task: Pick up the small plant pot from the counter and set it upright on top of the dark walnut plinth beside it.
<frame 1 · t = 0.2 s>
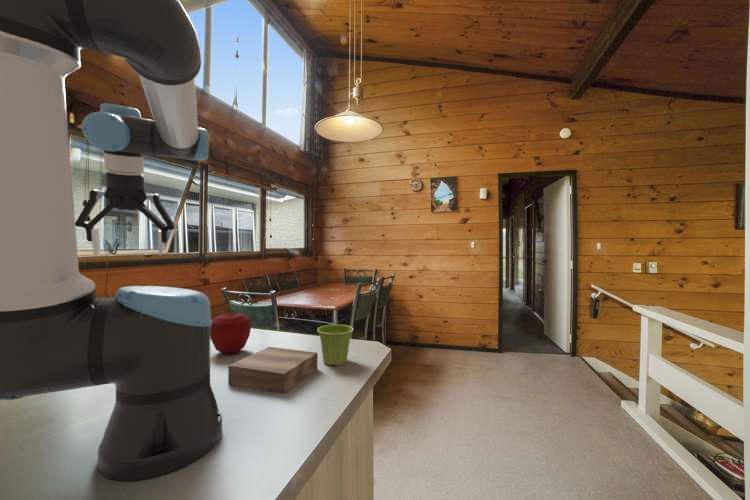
hand: (130, 253, 84), 28 cm above the kitchen counter, tool tilted 20°, fingers open, 13 cm apart
walnut plinth: (275, 376, 72), on the kitchen counter
plant pot: (335, 362, 82), on the kitchen counter
apple: (230, 353, 89), on the kitchen counter
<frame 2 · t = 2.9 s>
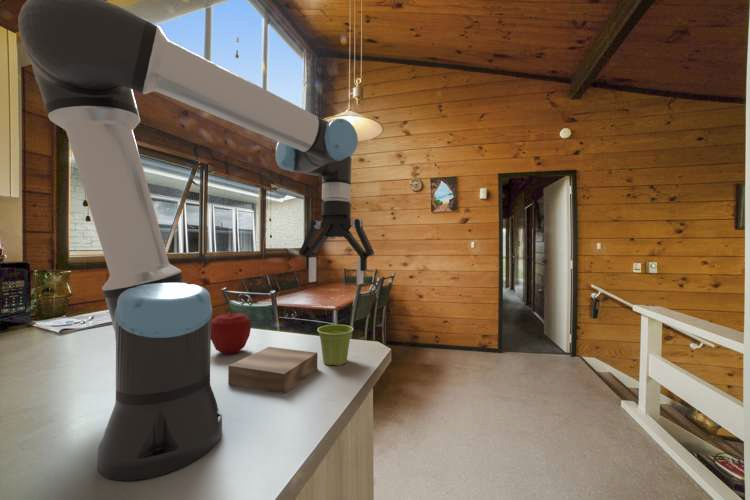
hand: (335, 282, 82), 21 cm above the kitchen counter, tool pointing down, fingers open, 13 cm apart
nothing on the kitchen counter moved.
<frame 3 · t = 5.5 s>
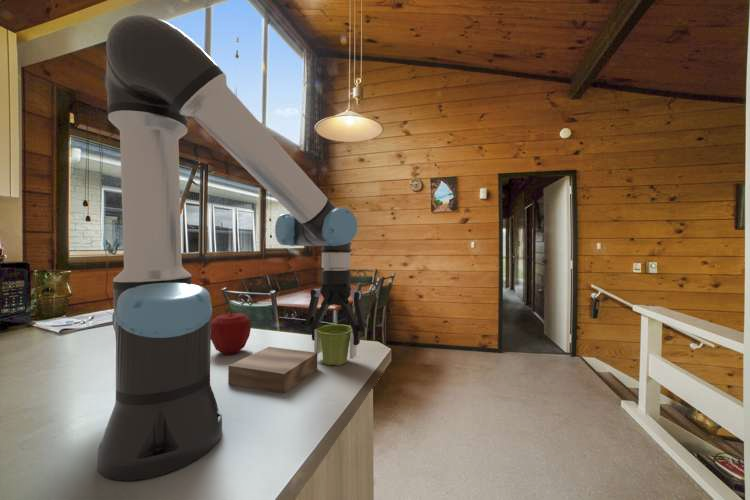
hand: (335, 354, 82), 2 cm above the kitchen counter, tool pointing down, fingers closed on plant pot, 9 cm apart
plant pot: (335, 362, 82), on the kitchen counter, touching gripper
everything else where it was.
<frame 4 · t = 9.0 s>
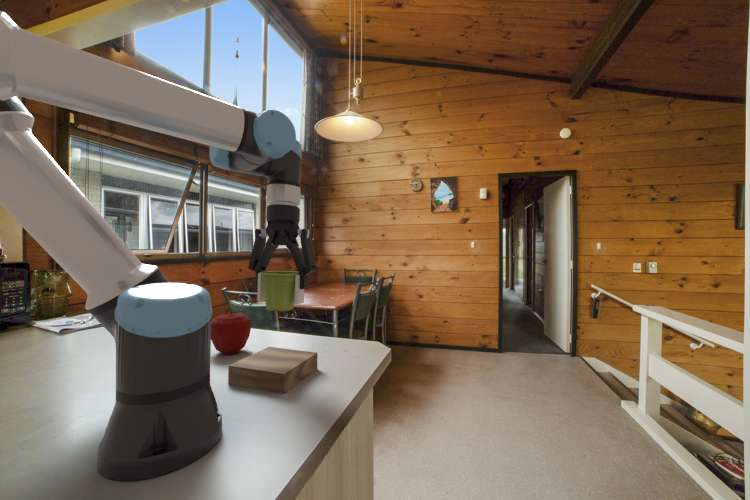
hand: (280, 301, 73), 17 cm above the kitchen counter, tool pointing down, fingers closed on plant pot, 9 cm apart
plant pot: (280, 310, 73), point 15 cm above the kitchen counter, touching gripper
everything else where it was.
when the fingers open (6 cm above the kitchen counter, at t = 12.7 s): plant pot stays where it is, resting on walnut plinth.
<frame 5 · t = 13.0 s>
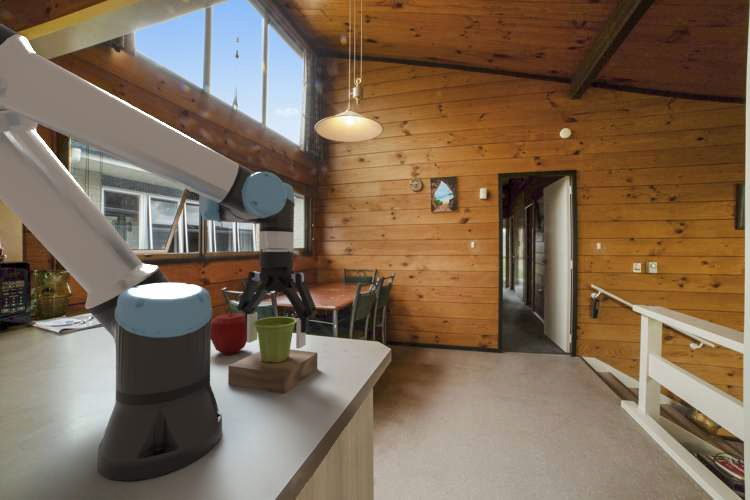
hand: (275, 343, 72), 7 cm above the kitchen counter, tool pointing down, fingers open, 12 cm apart
plant pot: (275, 359, 72), point 4 cm above the kitchen counter, touching walnut plinth
everything else where it was.
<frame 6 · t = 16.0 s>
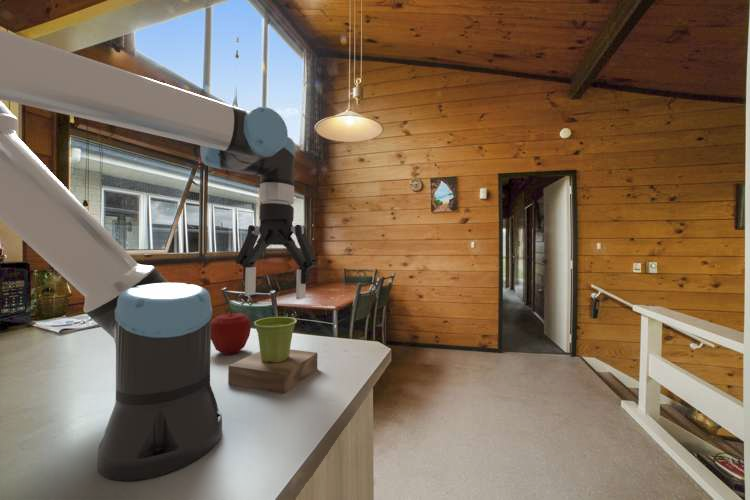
hand: (274, 296, 72), 18 cm above the kitchen counter, tool pointing down, fingers open, 13 cm apart
nothing on the kitchen counter moved.
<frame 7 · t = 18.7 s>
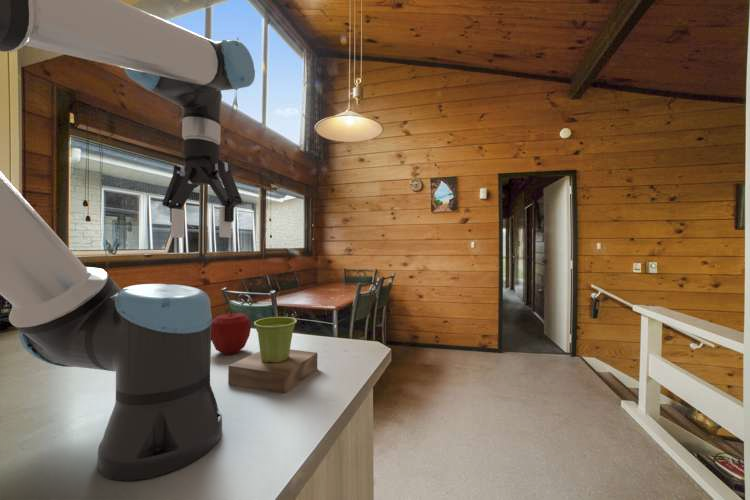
hand: (200, 237, 70), 32 cm above the kitchen counter, tool pointing down, fingers open, 13 cm apart
nothing on the kitchen counter moved.
at the end: plant pot inside the target area on the walnut plinth (0.1 cm from its centre), point 3.8 cm above the walnut plinth's base; plant pot tilted 0°; the gripper is holding nothing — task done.
